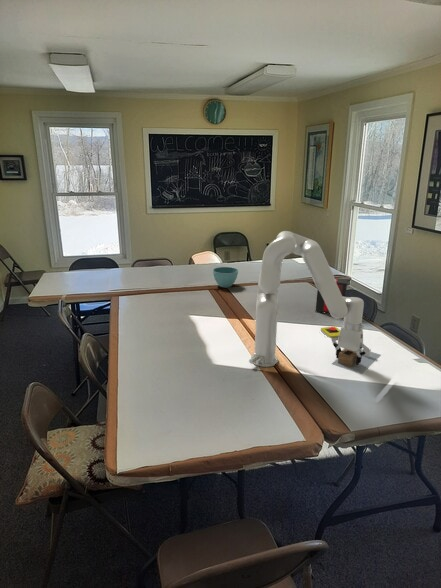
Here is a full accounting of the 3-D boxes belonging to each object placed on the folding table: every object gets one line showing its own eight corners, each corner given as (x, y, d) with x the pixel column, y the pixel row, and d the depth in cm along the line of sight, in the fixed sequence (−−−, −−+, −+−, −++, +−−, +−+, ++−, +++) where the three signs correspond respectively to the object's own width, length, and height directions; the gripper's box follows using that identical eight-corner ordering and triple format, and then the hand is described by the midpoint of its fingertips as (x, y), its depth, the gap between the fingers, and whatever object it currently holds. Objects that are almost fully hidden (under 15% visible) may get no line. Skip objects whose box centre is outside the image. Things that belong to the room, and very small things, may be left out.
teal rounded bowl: (209, 283, 304) (209, 267, 300) (232, 281, 309) (233, 266, 305) (217, 290, 287) (217, 274, 283) (241, 288, 292) (241, 272, 288)
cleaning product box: (344, 310, 253) (347, 279, 246) (343, 315, 245) (347, 283, 238) (317, 307, 258) (319, 276, 251) (315, 311, 250) (318, 280, 243)
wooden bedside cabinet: (351, 367, 180) (352, 356, 179) (337, 362, 184) (338, 352, 182) (357, 362, 185) (358, 351, 183) (343, 357, 189) (344, 347, 187)
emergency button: (334, 323, 223) (349, 334, 209) (333, 330, 224) (348, 341, 210) (318, 324, 220) (332, 335, 207) (318, 332, 222) (332, 343, 208)
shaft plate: (361, 377, 175) (362, 365, 173) (330, 366, 184) (332, 355, 182) (380, 357, 193) (382, 347, 191) (352, 349, 201) (353, 338, 199)
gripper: (374, 327, 176) (369, 363, 182) (337, 317, 187) (333, 351, 192) (368, 333, 171) (363, 369, 176) (329, 322, 181) (326, 357, 187)
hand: (347, 360), depth 184 cm, fingers open, 8 cm apart
